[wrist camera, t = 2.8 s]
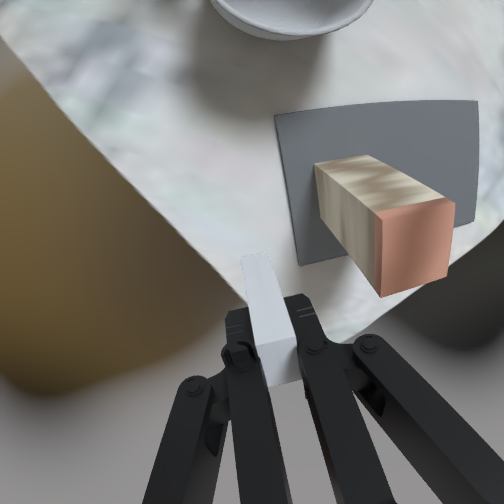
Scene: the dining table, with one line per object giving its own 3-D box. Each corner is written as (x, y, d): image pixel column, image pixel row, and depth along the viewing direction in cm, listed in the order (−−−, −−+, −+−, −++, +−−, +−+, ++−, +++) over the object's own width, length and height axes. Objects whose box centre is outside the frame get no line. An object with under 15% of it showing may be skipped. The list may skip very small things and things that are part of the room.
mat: (475, 100, 23) (477, 101, 23) (472, 219, 30) (474, 221, 30) (274, 115, 23) (275, 116, 23) (298, 264, 30) (299, 266, 30)
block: (367, 154, 25) (455, 203, 15) (370, 206, 28) (446, 276, 17) (313, 163, 25) (382, 219, 15) (320, 217, 28) (380, 298, 17)
